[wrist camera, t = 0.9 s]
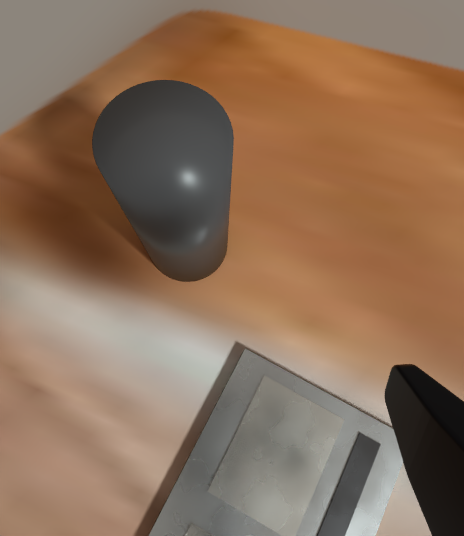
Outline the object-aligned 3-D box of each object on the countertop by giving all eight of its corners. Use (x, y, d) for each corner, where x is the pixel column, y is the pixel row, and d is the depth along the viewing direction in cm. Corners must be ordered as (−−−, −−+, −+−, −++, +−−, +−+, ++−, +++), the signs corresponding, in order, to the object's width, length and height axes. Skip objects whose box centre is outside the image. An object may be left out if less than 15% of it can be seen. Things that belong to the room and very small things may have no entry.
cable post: (203, 295, 23) (189, 227, 12) (133, 258, 24) (63, 162, 13) (240, 229, 24) (257, 115, 14) (174, 195, 25) (140, 60, 14)
